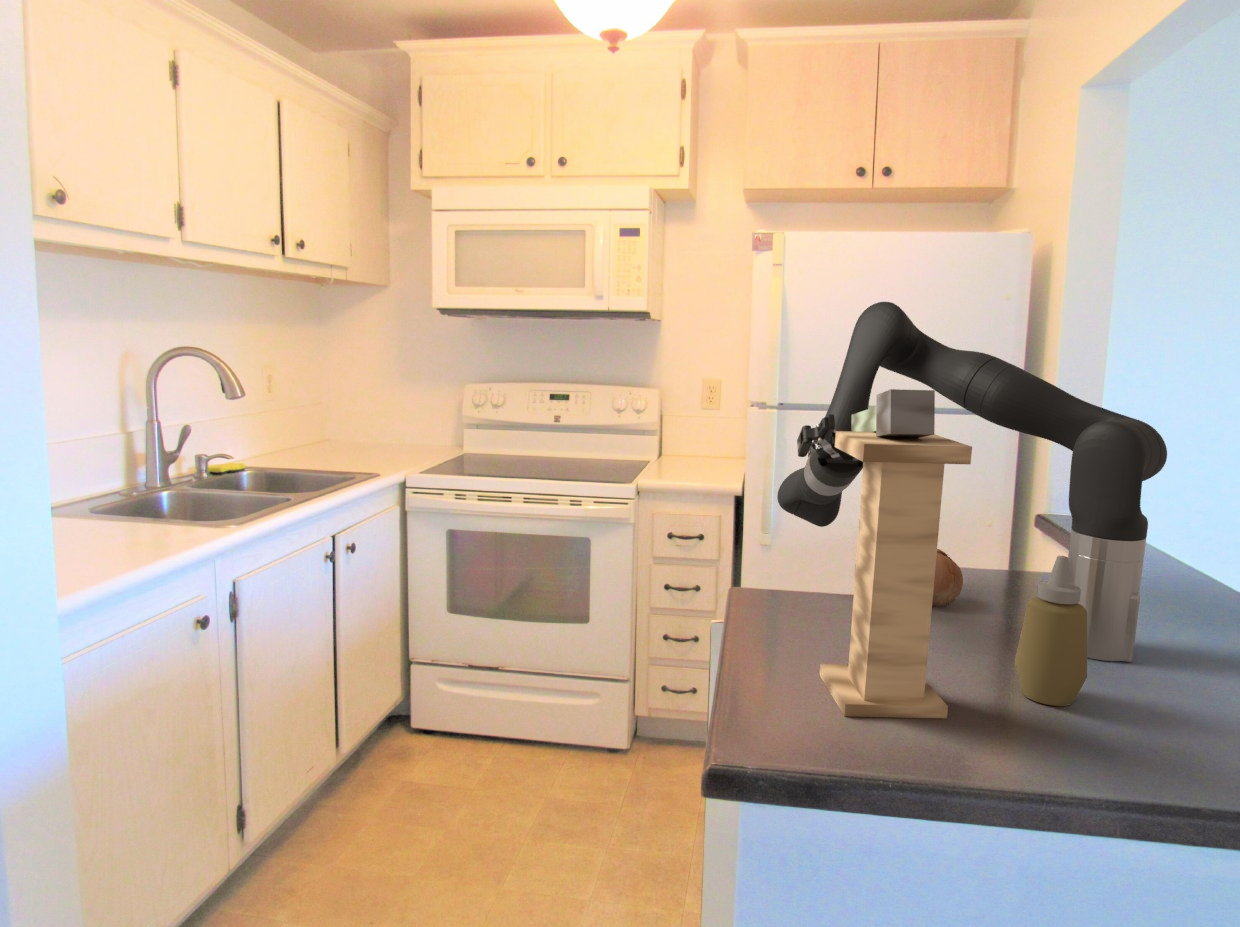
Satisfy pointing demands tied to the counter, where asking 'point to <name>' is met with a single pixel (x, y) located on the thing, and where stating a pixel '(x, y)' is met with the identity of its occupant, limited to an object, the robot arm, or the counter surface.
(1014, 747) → the counter surface
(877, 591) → the stand
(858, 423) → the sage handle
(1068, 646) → the squeeze bottle
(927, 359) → the robot arm
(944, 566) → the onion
